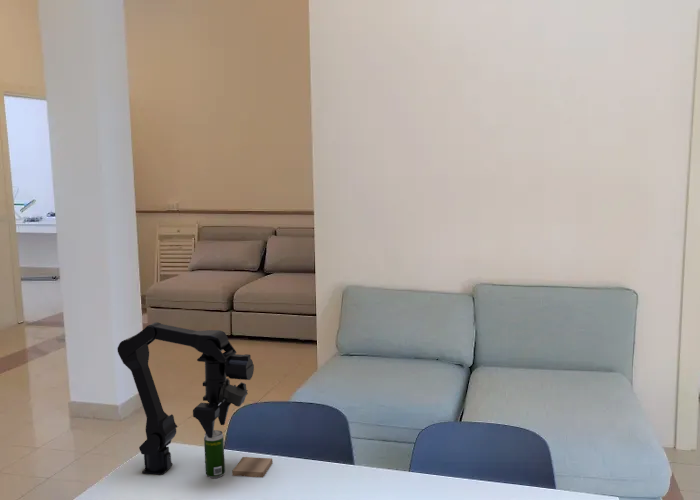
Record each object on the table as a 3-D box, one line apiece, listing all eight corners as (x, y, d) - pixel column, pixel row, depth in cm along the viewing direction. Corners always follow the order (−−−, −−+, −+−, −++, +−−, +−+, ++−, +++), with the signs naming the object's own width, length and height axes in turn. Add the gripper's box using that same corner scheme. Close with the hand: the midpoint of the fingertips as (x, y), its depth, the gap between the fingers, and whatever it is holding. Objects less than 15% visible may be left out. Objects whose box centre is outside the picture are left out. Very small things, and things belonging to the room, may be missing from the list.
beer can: (228, 474, 181) (226, 433, 179) (211, 480, 177) (209, 439, 176) (219, 468, 185) (217, 428, 184) (202, 474, 182) (200, 433, 180)
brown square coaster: (232, 477, 180) (232, 470, 180) (243, 463, 189) (242, 456, 189) (263, 479, 179) (263, 472, 179) (272, 464, 188) (272, 458, 187)
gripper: (231, 389, 167) (232, 447, 169) (254, 368, 186) (254, 420, 188) (191, 387, 169) (192, 444, 171) (217, 366, 188) (218, 418, 189)
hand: (216, 431), depth 180 cm, fingers open, 9 cm apart
